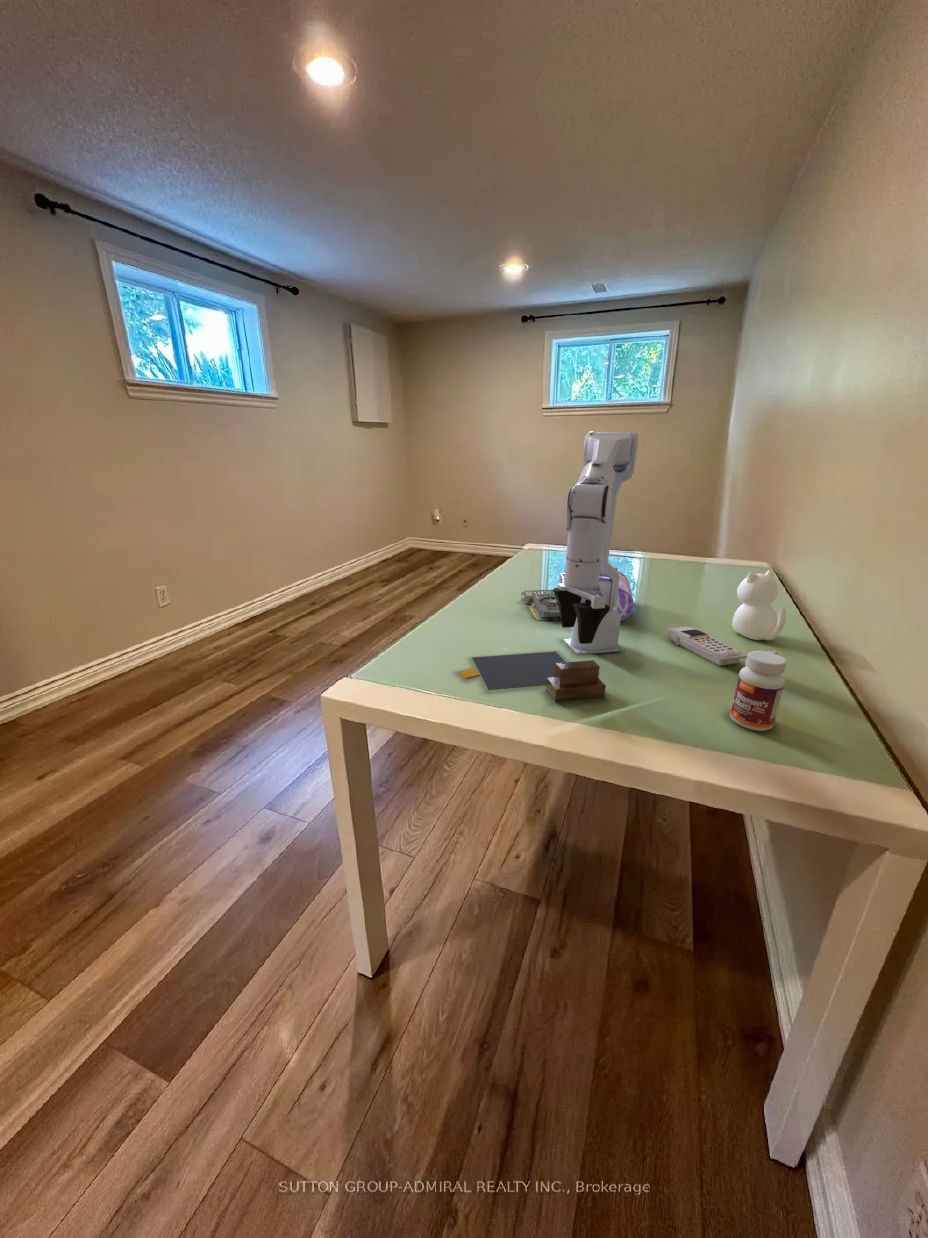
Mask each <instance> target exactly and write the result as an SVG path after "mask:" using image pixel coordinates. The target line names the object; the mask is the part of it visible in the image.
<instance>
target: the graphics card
mask: <svg viewBox="0 0 928 1238" xmlns="http://www.w3.org/2000/svg"><path fill="white" fill-rule="evenodd" d="M520 595H521V596H523V597H521V598H520V602H523V603H527V604H528V605H529V607H528V608H529V610H530V612H531V614H532V615H533V617H534V619H536V621H540V620H541V621H548V620H552V621H553V620H561V618H560V611H559V606H558V602H557V599H556V597H555V594H554V592H553V589H531V590H529V589H527V590H524V591H521V592H520Z"/></svg>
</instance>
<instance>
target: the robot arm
mask: <svg viewBox="0 0 928 1238" xmlns="http://www.w3.org/2000/svg"><path fill="white" fill-rule="evenodd" d="M638 446H639V434H638V432H637V431H632V432H627V431H626V432H625V431H623V432H622V431H621V432H620V431H613V432H612V431H591V430H590V431H588V433H587V434H586V435H585V437H584V443H583V461H584V462H583V463H584V467H583V469H582V470H581V474H580V475H579V478H578V480H577V483H575V484H574V487H573V486H570V487H569V488H568V492H567V496H566V502H565V503H566V504H565V508H566V509H565V511H566V531H567V532H568V534H567V543H566V555H565V565H564V566H565V567H564V568H565V569H564V572H563V573H559V578H558V583H557V587H553V589H552V590H553V594H555V597H556V599H557V602H558V606H559V611H560V618H561V619H560V623H561V627H562V628H571V632H570V633H571V634H570V637H567V638H563V642H564V643H565V644H566V645H568V647H570V648H571V649H572V650H573V652H574V653H576V654H578V655H580V654H581V655H584V654H605V653H617V652H619V651H620V649H619V647H618V646H619V645H618V644H619V637H620V631H621V630H620V629H621V621H620V615H619V612H618V610H617V609H616V608H615V606H616V603H617V597H618V589H619V574H618V571H619V570H618V571H617V570H616V569H615V568H616V567H614V566H613V565H612V564H611V563H610V562H609V558H610V557H609V556H610V549H611V543H612V536H613V528H614V523H615V522H614V521H615V516H616V510H617V509H616V508H617V502H618V496H619V492H620V490H621V487H622V484H623V483H625V482H626V481H628V480H630V479H632V476H633V474H634V472H635V467H636V466H635V464H636V460H637V454H638V449H639V448H638ZM601 576H602V577H608V578H611V579H606V578H600V577H601Z"/></svg>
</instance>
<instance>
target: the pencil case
mask: <svg viewBox="0 0 928 1238" xmlns="http://www.w3.org/2000/svg"><path fill="white" fill-rule="evenodd" d="M614 568H615V569H616V570H617V571H618V574H619V589H618V597H617V603H616V606H615V608H616V609H617V610H618V612H619V615H620V622H622V621H625V620H626V619H627V618H629V617H630V616H631V614H632V612H633V610H634V597H633V592H632V588H631V584H630V580H629V577H628V576H627V575H626V574H625V573H623V572H622V571H619V570H618V569H619V568H618V567H614ZM599 578H606V579H611V578H608V577H602V576H599Z"/></svg>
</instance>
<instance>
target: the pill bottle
mask: <svg viewBox="0 0 928 1238" xmlns="http://www.w3.org/2000/svg"><path fill="white" fill-rule="evenodd" d="M747 654H748V655H747V658H746V660H745V666H744V667H742V668H741V669H740V671H739V673H738V676H737V677H738V678H737V682H736V685H735V691H734V695H733V699H732V704H731V707H730V712H729V716H730V719H731V720H732V722H734V723H735V724H736V725H739V726H740V727H742V728H744V729H747V730H750V731H755V732H756V731H757V732H763V731H764V732H765V731H769V730H771V729H773V727H774V725H775V722H776V718H777V714H778V712H779V711H778V710H779V706H780V703H781V699H782V696H783V692H784V688H785V683H786V678H785V677H784V675H783V674H784V673H785V672H786V671H785V670H786V666H787V659H786V658H785V657H784V656H781V655H779V654H774V653H771V652H770V651H765V650H752V651H749V652H748V653H747Z"/></svg>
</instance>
